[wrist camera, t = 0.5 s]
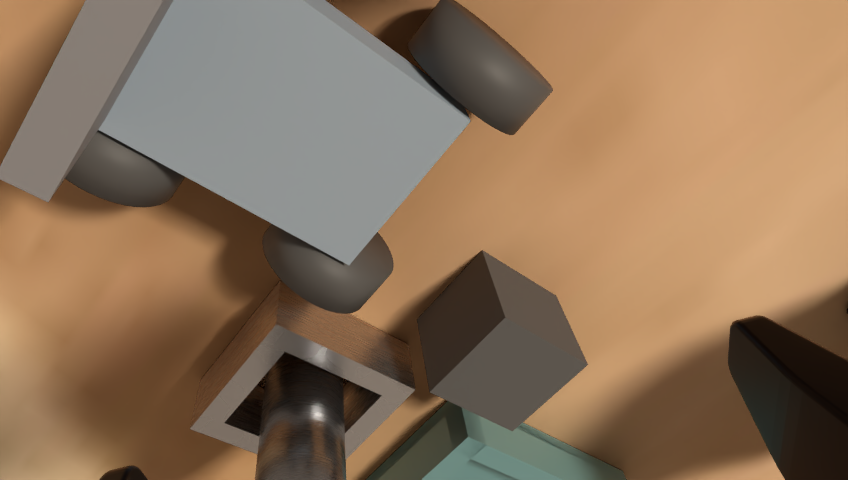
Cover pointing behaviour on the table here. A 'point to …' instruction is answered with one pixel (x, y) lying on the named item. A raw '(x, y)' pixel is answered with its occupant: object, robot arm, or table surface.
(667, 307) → the table surface
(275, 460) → the pin
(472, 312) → the dark grey cube
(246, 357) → the socket
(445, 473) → the tray
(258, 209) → the trolley
